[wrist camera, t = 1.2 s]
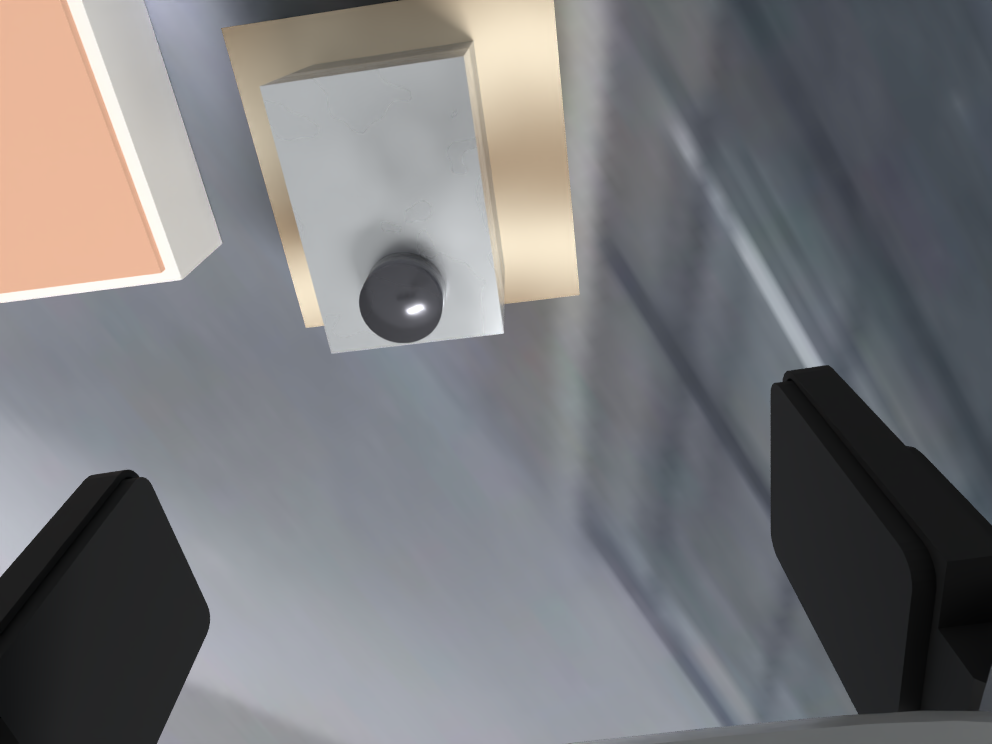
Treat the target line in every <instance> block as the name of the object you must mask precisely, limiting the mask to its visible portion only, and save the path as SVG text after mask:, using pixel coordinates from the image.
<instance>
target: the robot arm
mask: <svg viewBox="0 0 992 744" xmlns="http://www.w3.org/2000/svg"><path fill="white" fill-rule="evenodd" d="M771 537H772V543H773V547H774V550H775V553H776V556H777V558H778V560H779V562H780V564H781V566H782V568H783V569H784V571H785V573H786V575H787V577H788V579H789V581H790V583H791V585H792V587H793V589H794V591H795V593H796V595H797V596H798V598H799V600H800V602H801V604H802V606H803V608H804V610H805V612H806V614H807V616H808V618H809V620H810V622H811V624H812V625H813V627H814V629H815V631H816V633H817V635H818V637H819V639H820V641H821V643H822V645H823V647H824V649H825V651H826V652H827V654H828V656H829V658H830V660H831V662H832V664H833V666H834V668H835V670H836V672H837V674H838V676H839V678H840V680H841V681H842V683H843V685H844V687H845V689H846V691H847V693H848V695H849V697H850V699H851V701H852V703H853V705H854V707H855V708H856V710H857V712H858V714H859V715H843V716H832V717H821V718H809V719H798V720H788V721H778V722H768V723H758V724H747V725H736V726H726V727H715V728H704V729H695V730H686V731H677V732H668V733H659V734H650V735H641V736H632V737H622V738H613V739H604V740H595V741H586V742H577V743H568V744H992V525H991V524H990V523H989V522H988V521H987V520H986V519H985V518H984V517H983V516H982V515H981V514H980V513H979V512H978V511H977V510H976V509H975V508H974V507H973V505H972V504H971V503H970V502H969V501H968V500H967V499H966V498H965V497H964V496H963V495H962V494H961V493H960V492H959V491H958V490H957V489H956V488H955V487H954V486H953V485H952V484H951V483H950V482H949V481H948V480H947V479H946V478H945V476H944V475H943V474H942V473H941V472H940V471H939V470H938V469H937V468H936V467H935V466H934V465H933V464H932V463H931V462H930V461H929V460H928V459H927V458H926V457H925V456H924V455H923V454H922V453H921V452H920V451H918V450H917V449H916V448H914V447H909V446H905V445H904V444H903V443H902V442H901V441H900V439H899V438H898V437H897V436H896V435H895V434H894V433H893V432H892V431H891V430H890V429H889V428H888V427H887V426H886V425H885V424H884V423H883V421H882V420H881V419H880V418H879V417H878V416H877V415H876V414H875V413H874V412H873V411H872V410H871V409H870V408H869V407H868V406H867V404H866V403H865V402H864V401H863V400H862V399H861V398H860V397H859V396H858V395H857V394H856V393H855V392H854V391H853V390H852V389H851V388H850V386H849V385H848V384H847V383H846V382H845V381H844V380H843V379H842V378H841V377H840V376H839V375H838V374H837V373H836V372H835V371H834V369H833V368H831V367H830V366H828V365H826V366H818V367H812V368H805V369H798V370H791V371H787V372H786V373H785V374H784V377H783V382H779V383H774V384H773V385H772V388H771ZM209 625H210V613H209V608H208V605H207V603H206V601H205V599H204V597H203V595H202V592H201V590H200V588H199V586H198V584H197V582H196V579H195V577H194V575H193V573H192V571H191V569H190V567H189V564H188V562H187V560H186V558H185V556H184V554H183V551H182V549H181V547H180V545H179V543H178V541H177V538H176V536H175V534H174V532H173V530H172V528H171V526H170V523H169V521H168V519H167V517H166V515H165V513H164V510H163V508H162V506H161V504H160V502H159V500H158V497H157V495H156V493H155V491H154V489H153V487H152V485H151V483H150V482H149V480H147V479H146V478H144V477H139V476H138V475H137V474H136V473H135V472H134V471H132V470H122V471H115V472H109V473H102V474H95V475H91V476H89V477H88V478H86V479H85V480H84V481H83V482H82V484H81V485H80V486H79V487H78V488H77V489H76V491H75V492H74V493H73V494H72V495H71V496H70V498H69V499H68V500H67V501H66V502H65V503H64V504H63V506H62V507H61V508H60V509H59V510H58V511H57V513H56V514H55V515H54V516H53V517H52V518H51V519H50V521H49V522H48V523H47V524H46V525H45V526H44V528H43V529H42V530H41V531H40V532H39V533H38V534H37V536H36V537H35V538H34V539H33V540H32V541H31V543H30V544H29V545H28V546H27V547H26V548H25V549H24V551H23V552H22V553H21V554H20V555H19V556H18V558H17V559H16V560H15V561H14V562H13V563H12V564H11V566H10V567H9V568H8V569H7V570H6V571H5V573H4V574H3V575H2V576H1V577H0V744H157V742H158V740H159V738H160V735H161V733H162V731H163V729H164V727H165V724H166V722H167V720H168V718H169V716H170V713H171V711H172V709H173V707H174V705H175V703H176V700H177V698H178V696H179V694H180V692H181V689H182V687H183V685H184V683H185V681H186V678H187V676H188V674H189V672H190V670H191V668H192V665H193V663H194V661H195V659H196V657H197V654H198V652H199V650H200V648H201V646H202V644H203V641H204V639H205V637H206V635H207V632H208V629H209Z"/></svg>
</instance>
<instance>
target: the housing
mask: <svg viewBox="0 0 992 744" xmlns="http://www.w3.org/2000/svg"><path fill="white" fill-rule="evenodd" d="M259 87H260V91H261V94H262V98H263V102H264V105H265V109H266V113H267V116H268V120H269V124H270V128H271V131H272V135H273V139H274V142H275V146H276V150H277V153H278V157H279V161H280V165H281V168H282V172H283V176H284V179H285V183H286V187H287V190H288V194H289V198H290V201H291V205H292V209H293V213H294V216H295V220H296V224H297V227H298V231H299V235H300V238H301V242H302V246H303V250H304V253H305V257H306V261H307V264H308V268H309V272H310V275H311V279H312V283H313V287H314V290H315V294H316V298H317V301H318V305H319V309H320V312H321V316H322V320H323V324H324V327H325V331H326V335H327V338H328V342H329V346H330V349H331V353H341V352H349V351H358V350H366V349H375V348H383V347H392V346H400V345H409V344H417V343H426V342H434V341H443V340H451V339H460V338H469V337H477V336H486V335H494V334H503V333H504V285H505V265H504V258H503V251H502V244H501V236H500V229H499V222H498V215H497V207H496V200H495V193H494V186H493V178H492V171H491V164H490V157H489V149H488V142H487V135H486V127H485V120H484V113H483V106H482V98H481V91H480V84H479V77H478V69H477V62H476V55H475V48H474V41H468V42H461V43H455V44H448V45H441V46H435V47H428V48H421V49H414V50H408V51H401V52H394V53H388V54H381V55H374V56H368V57H361V58H354V59H347V60H341V61H334V62H327V63H321V64H314V65H311V66H308V67H306V68H303V69H301V70H299V71H296V72H294V73H291V74H289V75H286V76H284V77H281V78H279V79H276V80H274V81H271V82H269V83H266V84H264V85H261V86H259Z"/></svg>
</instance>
